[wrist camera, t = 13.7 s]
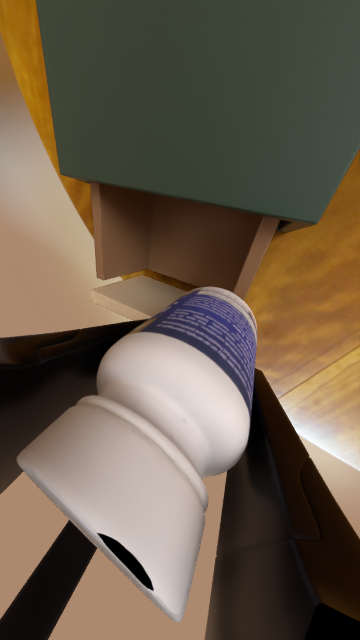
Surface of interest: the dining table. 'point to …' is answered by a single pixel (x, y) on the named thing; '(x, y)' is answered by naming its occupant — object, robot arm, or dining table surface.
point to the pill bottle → (155, 440)
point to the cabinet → (208, 99)
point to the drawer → (171, 248)
